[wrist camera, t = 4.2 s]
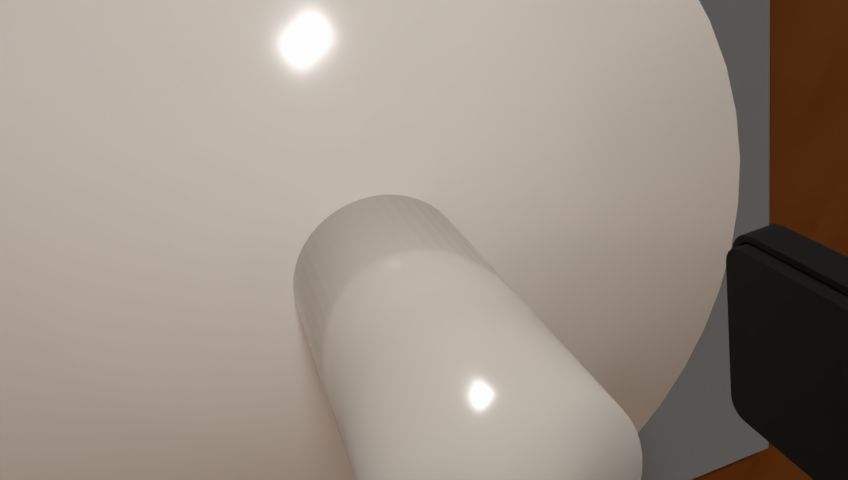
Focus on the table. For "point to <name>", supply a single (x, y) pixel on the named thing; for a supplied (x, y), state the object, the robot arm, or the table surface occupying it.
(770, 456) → the table surface
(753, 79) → the mat
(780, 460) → the table surface
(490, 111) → the lid
